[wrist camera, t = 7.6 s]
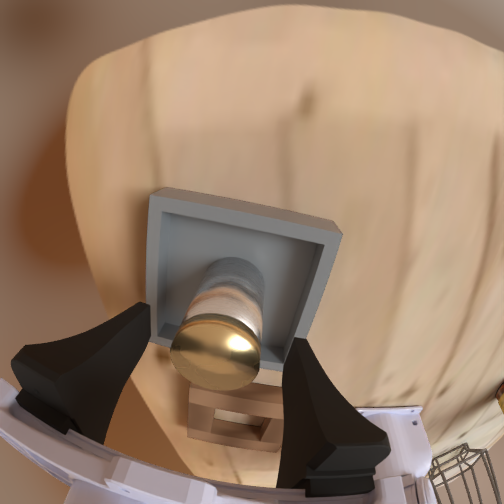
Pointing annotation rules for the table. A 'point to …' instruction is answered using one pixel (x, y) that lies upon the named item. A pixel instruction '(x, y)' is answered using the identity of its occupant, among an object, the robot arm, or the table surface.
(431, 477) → the geometric lantern
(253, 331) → the gold and silver cylinder
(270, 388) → the block
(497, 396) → the sauce bottle
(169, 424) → the table surface
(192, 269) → the tray
